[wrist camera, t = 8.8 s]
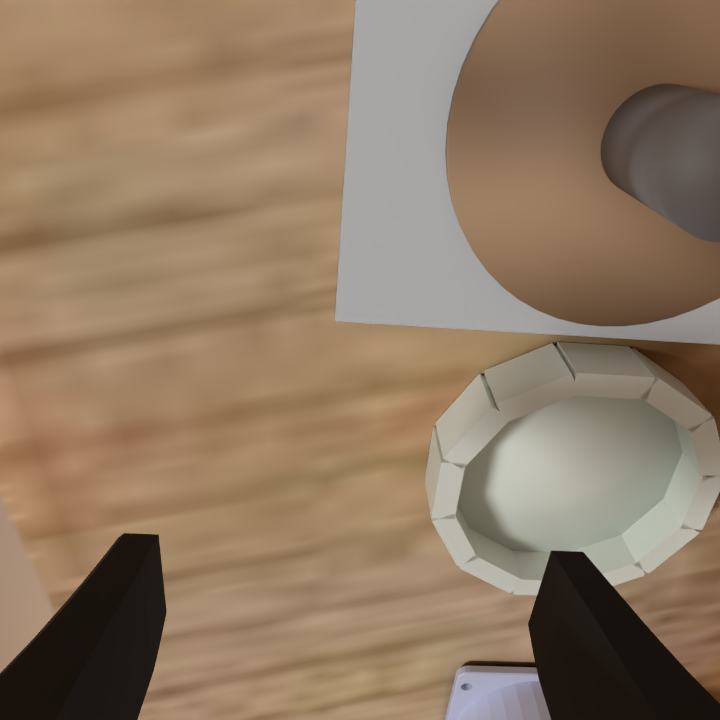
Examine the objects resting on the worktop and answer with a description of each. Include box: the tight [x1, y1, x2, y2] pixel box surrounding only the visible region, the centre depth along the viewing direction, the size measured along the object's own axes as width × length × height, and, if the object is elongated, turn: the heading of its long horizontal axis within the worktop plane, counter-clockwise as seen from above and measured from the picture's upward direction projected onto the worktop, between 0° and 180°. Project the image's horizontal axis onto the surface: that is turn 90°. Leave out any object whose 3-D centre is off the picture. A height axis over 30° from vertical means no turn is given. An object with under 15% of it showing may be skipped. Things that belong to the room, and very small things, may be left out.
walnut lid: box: [445, 0, 720, 327], centre depth 15 cm, size 11×11×5 cm
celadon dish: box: [425, 342, 720, 595], centre depth 22 cm, size 10×10×2 cm
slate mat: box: [335, 0, 720, 345], centre depth 17 cm, size 12×16×1 cm
